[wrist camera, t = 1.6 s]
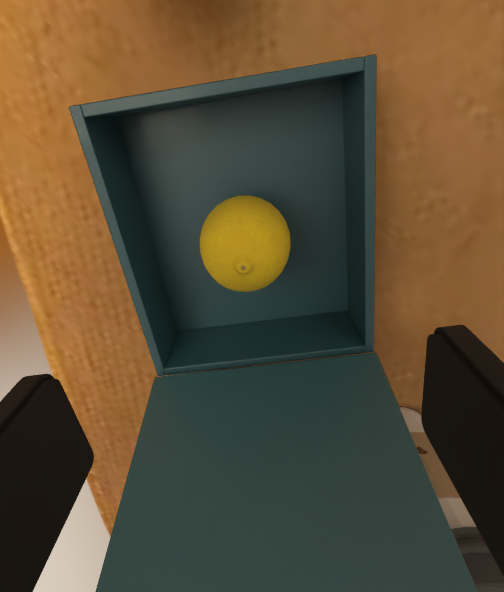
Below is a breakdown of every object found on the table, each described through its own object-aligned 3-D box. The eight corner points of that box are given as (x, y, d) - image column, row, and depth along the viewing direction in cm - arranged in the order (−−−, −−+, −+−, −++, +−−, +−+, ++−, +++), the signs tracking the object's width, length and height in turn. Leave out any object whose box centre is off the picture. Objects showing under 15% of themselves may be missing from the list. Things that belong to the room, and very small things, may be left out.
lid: (21, 855, 10) (35, 853, 11) (586, 846, 9) (575, 845, 10) (154, 376, 25) (157, 384, 25) (376, 352, 24) (375, 360, 24)
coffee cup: (412, 368, 32) (524, 550, 19) (470, 437, 36) (599, 629, 23) (310, 429, 36) (343, 619, 22) (373, 485, 39) (434, 677, 26)
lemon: (196, 198, 25) (173, 232, 18) (273, 174, 24) (281, 200, 17) (222, 269, 27) (211, 324, 20) (293, 249, 27) (308, 299, 19)
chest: (108, 107, 23) (68, 106, 18) (349, 67, 22) (377, 53, 17) (173, 333, 31) (157, 376, 26) (354, 311, 30) (374, 352, 25)
